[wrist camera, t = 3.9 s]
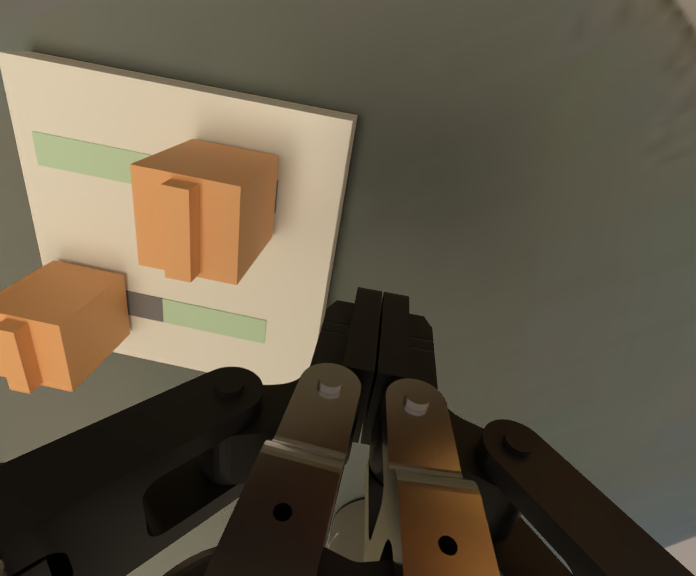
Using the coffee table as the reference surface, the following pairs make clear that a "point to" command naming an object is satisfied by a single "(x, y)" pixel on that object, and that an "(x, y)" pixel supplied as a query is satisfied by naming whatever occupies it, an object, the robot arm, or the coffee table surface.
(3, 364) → the tab
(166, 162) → the tab
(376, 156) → the coffee table surface
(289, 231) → the switch bank
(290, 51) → the coffee table surface
